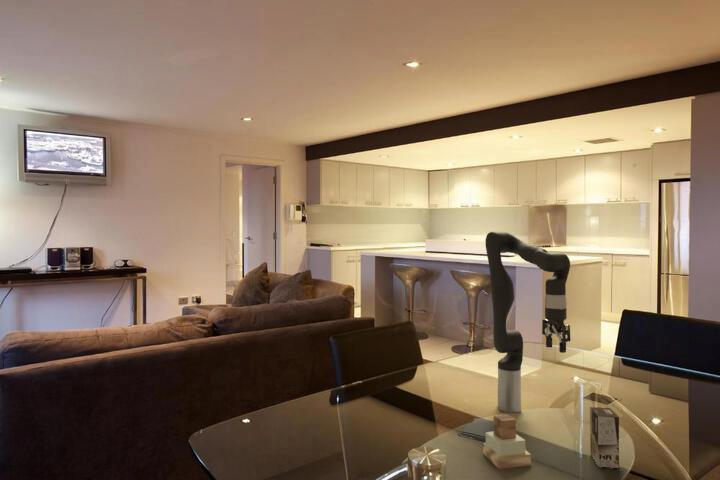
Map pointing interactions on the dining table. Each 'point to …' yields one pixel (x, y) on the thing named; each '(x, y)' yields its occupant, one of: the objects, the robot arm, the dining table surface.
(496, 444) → the tower top
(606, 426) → the coffee box
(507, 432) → the walnut block
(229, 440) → the dining table surface
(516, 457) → the tower base
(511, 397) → the robot arm
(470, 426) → the dark grey book
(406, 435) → the dining table surface
